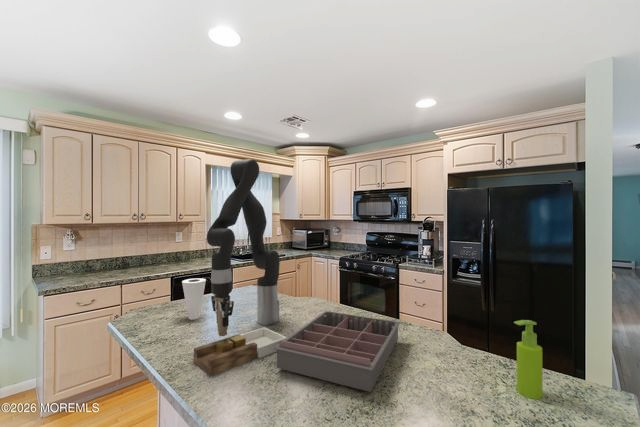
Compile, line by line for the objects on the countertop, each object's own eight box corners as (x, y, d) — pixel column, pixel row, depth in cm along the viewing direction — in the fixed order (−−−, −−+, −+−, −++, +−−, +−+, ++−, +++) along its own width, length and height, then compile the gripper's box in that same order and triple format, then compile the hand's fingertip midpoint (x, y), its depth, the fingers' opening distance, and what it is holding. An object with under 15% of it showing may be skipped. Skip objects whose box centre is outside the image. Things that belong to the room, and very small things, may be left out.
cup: (210, 316, 147) (210, 279, 147) (190, 323, 138) (190, 284, 138) (196, 313, 152) (196, 277, 152) (177, 319, 143) (177, 281, 143)
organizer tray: (400, 342, 118) (400, 316, 118) (372, 399, 82) (372, 362, 82) (325, 329, 131) (325, 306, 131) (273, 372, 95) (273, 341, 95)
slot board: (238, 345, 114) (238, 333, 114) (257, 357, 105) (257, 344, 105) (193, 361, 102) (193, 348, 102) (210, 375, 93) (210, 361, 93)
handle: (223, 339, 112) (222, 299, 112) (212, 335, 115) (211, 296, 115) (233, 334, 116) (232, 295, 116) (222, 331, 120) (221, 293, 119)
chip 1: (227, 350, 106) (227, 338, 106) (232, 353, 103) (232, 342, 104) (216, 354, 103) (216, 342, 103) (222, 357, 101) (222, 345, 101)
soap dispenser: (508, 387, 87) (508, 317, 87) (531, 386, 87) (530, 317, 87) (523, 399, 81) (523, 325, 81) (548, 398, 82) (547, 324, 82)
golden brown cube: (239, 345, 110) (239, 334, 110) (245, 349, 107) (245, 338, 107) (229, 349, 107) (229, 338, 107) (235, 352, 104) (235, 341, 104)
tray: (264, 335, 124) (264, 327, 124) (287, 346, 114) (287, 337, 114) (236, 345, 115) (236, 335, 115) (259, 358, 105) (259, 348, 105)
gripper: (240, 281, 113) (241, 326, 113) (221, 275, 123) (222, 317, 123) (221, 285, 108) (222, 333, 108) (203, 279, 118) (204, 322, 118)
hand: (222, 324), depth 116 cm, fingers closed on handle, 4 cm apart
